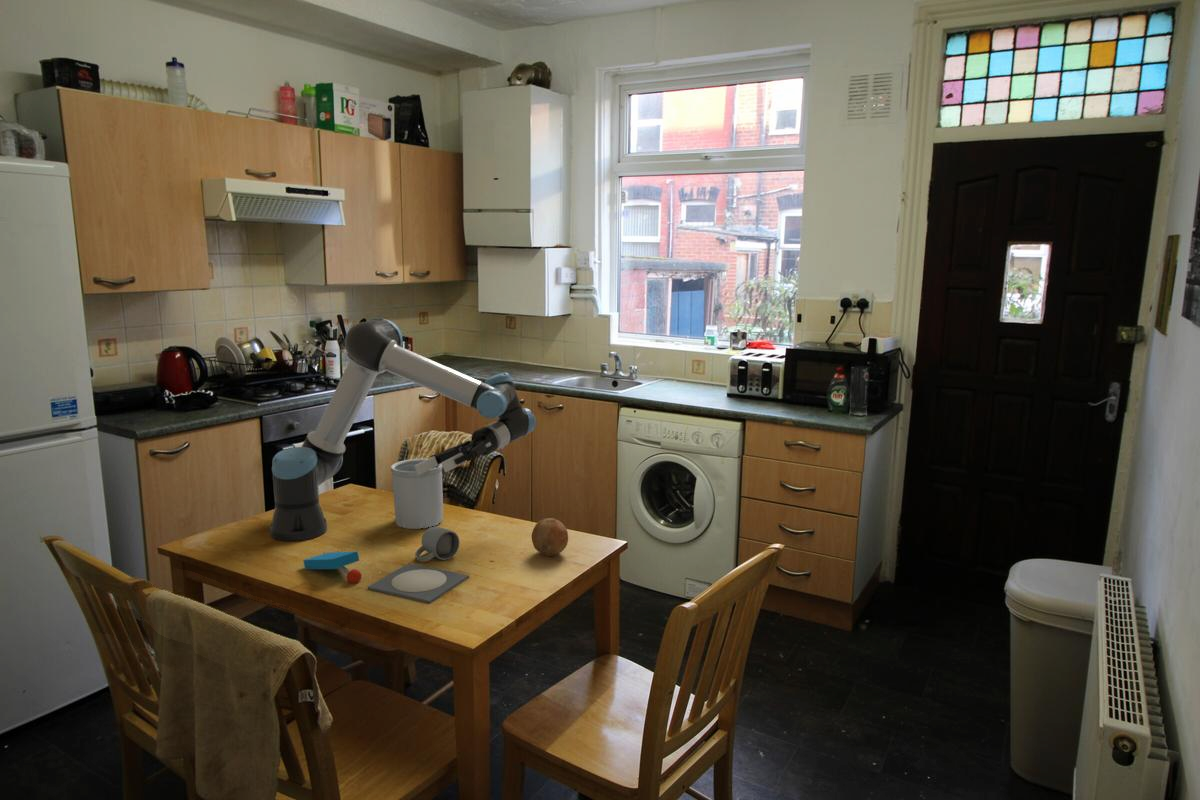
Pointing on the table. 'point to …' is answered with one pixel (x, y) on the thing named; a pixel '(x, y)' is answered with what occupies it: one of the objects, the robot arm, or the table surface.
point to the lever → (335, 563)
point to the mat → (418, 582)
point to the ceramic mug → (438, 544)
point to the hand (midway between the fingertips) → (429, 469)
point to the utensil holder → (417, 495)
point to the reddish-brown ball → (549, 537)
